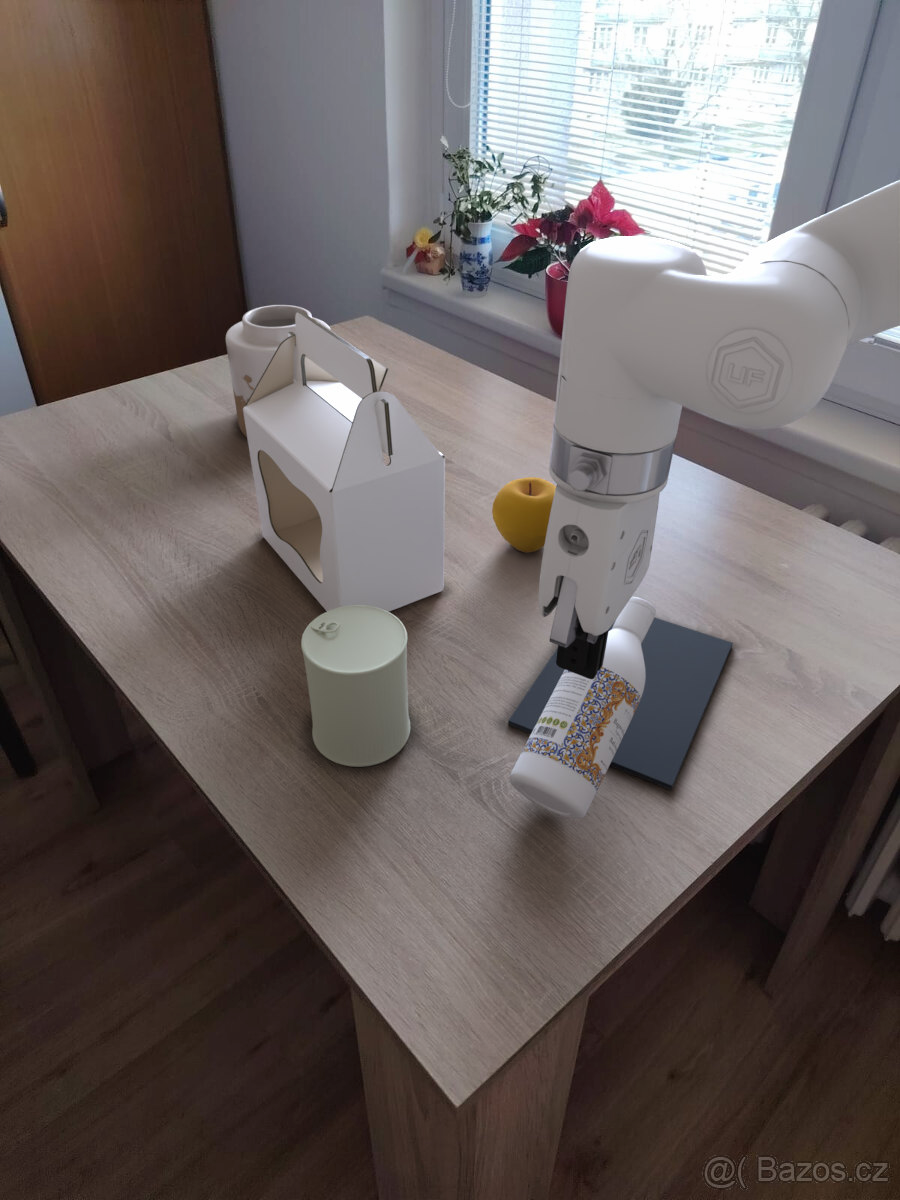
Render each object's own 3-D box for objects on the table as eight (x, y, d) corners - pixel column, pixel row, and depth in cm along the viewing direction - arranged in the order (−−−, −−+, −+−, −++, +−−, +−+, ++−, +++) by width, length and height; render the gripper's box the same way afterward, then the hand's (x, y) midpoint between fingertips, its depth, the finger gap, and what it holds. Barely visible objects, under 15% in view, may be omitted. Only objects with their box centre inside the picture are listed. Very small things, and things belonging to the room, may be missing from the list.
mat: (671, 790, 73) (672, 786, 73) (507, 724, 79) (508, 720, 78) (731, 646, 88) (733, 642, 88) (591, 600, 94) (591, 596, 94)
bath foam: (568, 799, 63) (669, 591, 70) (495, 769, 68) (597, 576, 75) (593, 831, 68) (685, 634, 75) (523, 802, 73) (617, 618, 80)
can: (341, 685, 83) (332, 590, 75) (426, 711, 80) (425, 615, 73) (294, 749, 76) (278, 652, 69) (384, 780, 73) (378, 682, 66)
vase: (288, 394, 136) (277, 291, 126) (359, 419, 130) (352, 312, 119) (218, 427, 127) (199, 319, 116) (290, 456, 120) (276, 344, 109)
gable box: (445, 592, 95) (448, 357, 78) (343, 632, 89) (321, 387, 72) (354, 505, 109) (339, 291, 92) (261, 535, 104) (226, 312, 86)
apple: (515, 517, 108) (519, 456, 102) (575, 540, 104) (583, 477, 98) (476, 549, 102) (479, 485, 96) (539, 574, 98) (545, 510, 92)
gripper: (623, 525, 45) (585, 750, 57) (704, 421, 55) (658, 629, 67) (502, 488, 48) (489, 709, 60) (600, 396, 58) (573, 599, 70)
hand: (578, 666), depth 63 cm, fingers closed
